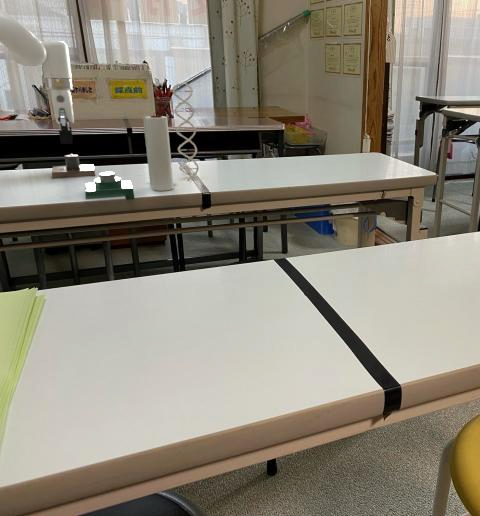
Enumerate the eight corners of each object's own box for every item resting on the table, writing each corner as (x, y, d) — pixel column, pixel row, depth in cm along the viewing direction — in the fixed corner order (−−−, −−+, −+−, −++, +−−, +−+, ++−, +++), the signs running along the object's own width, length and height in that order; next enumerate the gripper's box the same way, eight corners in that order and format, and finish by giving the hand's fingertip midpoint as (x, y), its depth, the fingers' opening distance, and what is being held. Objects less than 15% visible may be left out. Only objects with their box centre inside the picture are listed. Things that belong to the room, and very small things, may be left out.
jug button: (100, 182, 141) (99, 175, 140) (99, 179, 145) (98, 172, 144) (116, 181, 143) (115, 174, 142) (115, 178, 146) (114, 171, 146)
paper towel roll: (175, 190, 154) (169, 117, 147) (154, 192, 151) (146, 117, 144) (170, 185, 160) (164, 114, 152) (150, 187, 157) (142, 115, 150)
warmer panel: (53, 182, 160) (51, 172, 159) (54, 175, 168) (52, 166, 167) (95, 179, 165) (94, 169, 164) (94, 173, 173) (93, 163, 172)
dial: (80, 168, 165) (77, 155, 163) (66, 169, 163) (63, 156, 162) (80, 166, 168) (78, 153, 166) (66, 167, 167) (64, 153, 165)
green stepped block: (87, 203, 139) (84, 184, 137) (86, 194, 147) (83, 177, 145) (134, 199, 144) (132, 181, 142) (131, 191, 152) (129, 174, 150)
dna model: (196, 181, 166) (188, 83, 155) (177, 180, 166) (167, 83, 155) (202, 177, 172) (195, 82, 161) (183, 176, 172) (175, 82, 162)
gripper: (72, 86, 151) (80, 145, 156) (73, 83, 165) (80, 137, 171) (43, 85, 147) (52, 145, 153) (46, 82, 162) (54, 138, 168)
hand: (66, 141), depth 162 cm, fingers open, 9 cm apart
